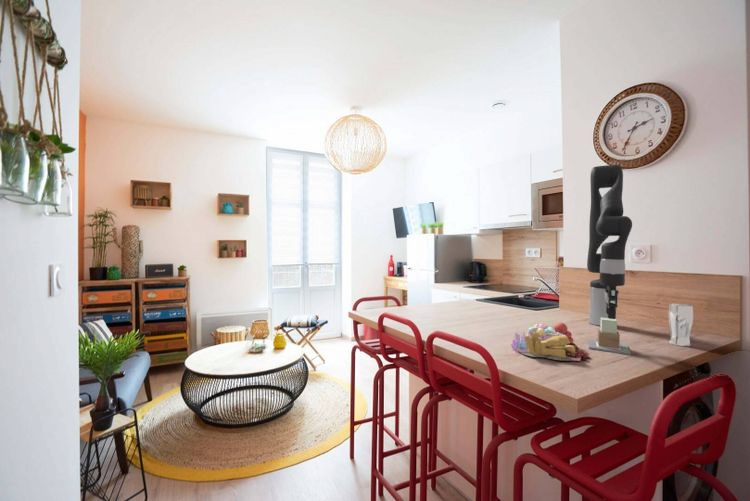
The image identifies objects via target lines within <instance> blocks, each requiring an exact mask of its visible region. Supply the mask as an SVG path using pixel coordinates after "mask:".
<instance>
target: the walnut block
mask: <svg viewBox="0 0 750 501" xmlns="http://www.w3.org/2000/svg"><path fill="white" fill-rule="evenodd" d="M620 336H621V335H620V333H619V331H618V330H617V334H613V333H605V332H601V330H600V328H597V341H598V345H599V346H602V347H609V348H616V349H619V343H620Z"/></svg>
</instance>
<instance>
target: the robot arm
mask: <svg viewBox="0 0 750 501" xmlns="http://www.w3.org/2000/svg"><path fill="white" fill-rule="evenodd" d="M623 170H624V169H623V167H622V166H621V165H620V164H610V165H609V164H608V165H597V166H594V167H592V169H591V171H590V178H589V179H590V212H589V223H588V224H589V228H588V229H589V231H588V232H589V233H588V234H589V237H588V239H589V242H588V243H589V244H588V251H587V253H588V254H587V258H586V259H587V262H586V267H587V270H588V273H589V272H590V273H596V274H599V278H598V279H593V280H591V281H590V284H589V308H588V309H589V312H588V313H589V315H588V323H589V324H591V325H594V326H600V325H601V317H602V318H609V319H616V318H617V317H616V316H617V314H616V313H617V308H618V307H619V305H618V303H619V294H620V293H619V289H617V287H623V286H625V284H626V283H625V282H626V281H625V280H626V261H625V258H626V256H625V255H626V254H625V252H626V245H627V242H628V238H629V236H630V233H631V231H632V228H633V221H632V219H631V218H630V217H629V216H626V215H625V216H624V211H625V210H624V204H623V189H624V172H623ZM608 188H610V189H608ZM601 189H608V191H607V192H606V193H604V194H603V196H602V195H601V192H600V190H601ZM609 237H618V238H617V239H616V240H615V241H610V242H605V241H606V240H607V239H608V238H609ZM599 249H601V250H600V253H598V250H599Z"/></svg>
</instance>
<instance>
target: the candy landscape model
mask: <svg viewBox="0 0 750 501" xmlns="http://www.w3.org/2000/svg"><path fill="white" fill-rule="evenodd" d="M513 335H514V339H512V341H511V344H510V345H511V348H512V350H513V351H516V352H515V353H521V355H524V356H529V357H532V358H533V357H534V358H546V359H551V360H556V361H567V362H568V361H578V362H581V360H583V361H584V360H585V361H588V359H590V354H589V353H588V352H587V351H583V350H582V348H580V346H578V345H577V344H576V343H574V341H575V339H574V338H573V337H572V335H573V334H572V332H571V331H570V330H568V326H567V325H566V324H565V323H563V322H557V323H556V324H555V325H553V326H552V327H551V326H548V325H546V324H545V323H539V324H537V323H536V324H534V325H533V326H532V327H529V328H528V330H527V334H526V333H525V332H523V333H522V334H521V335H520V334H519V333H518V332H514V334H513ZM587 358H588V359H587Z"/></svg>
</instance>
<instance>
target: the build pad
mask: <svg viewBox="0 0 750 501" xmlns="http://www.w3.org/2000/svg"><path fill="white" fill-rule="evenodd" d="M587 343H588V344H587V345H588V349H589V350H595V351H596V350H597V351H603V352H609V353H616V354H622V355H629V356H630V355H632V354H631V350H630V349H629V347H628V345H627V344H625V343H620V342H619V349H616V348H609V347H602V346H599V345H598V339H597V340H596V339H591V338H589V339H587Z"/></svg>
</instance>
